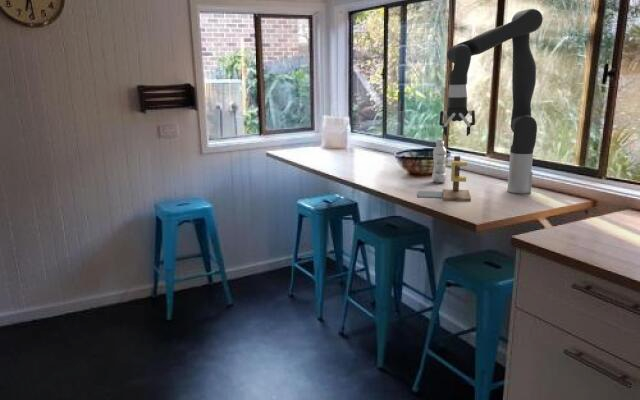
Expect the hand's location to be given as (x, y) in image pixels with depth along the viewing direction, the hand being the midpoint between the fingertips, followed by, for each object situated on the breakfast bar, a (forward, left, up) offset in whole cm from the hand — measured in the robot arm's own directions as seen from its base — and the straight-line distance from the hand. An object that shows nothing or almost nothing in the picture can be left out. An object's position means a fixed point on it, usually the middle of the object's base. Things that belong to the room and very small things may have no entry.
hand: (456, 135), depth 210 cm
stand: (-1, 0, -26) cm, 26 cm away
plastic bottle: (+6, -26, -26) cm, 37 cm away
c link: (-1, +1, -19) cm, 19 cm away
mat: (+10, -1, -26) cm, 28 cm away
